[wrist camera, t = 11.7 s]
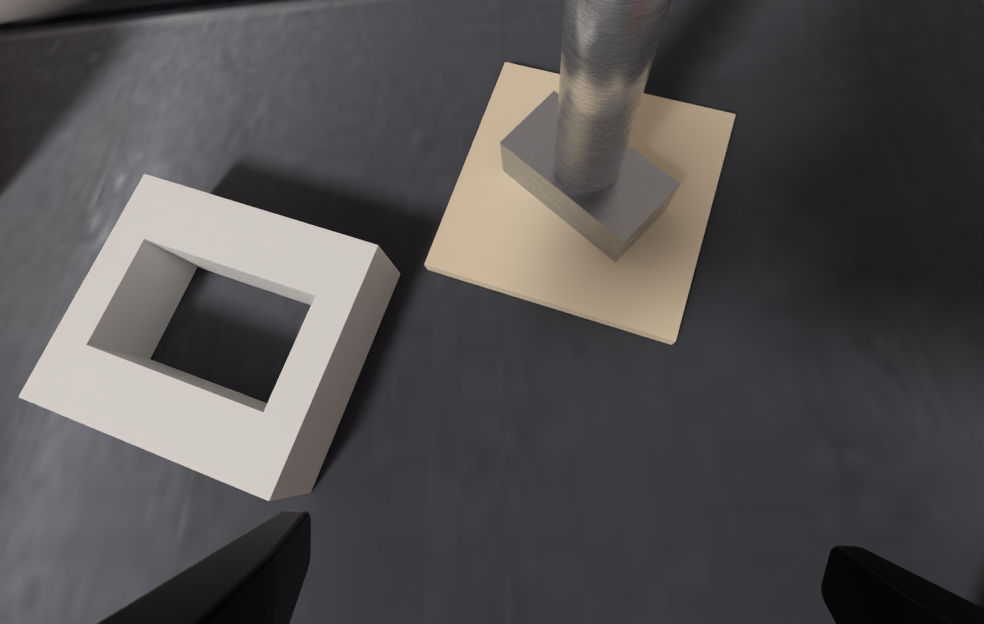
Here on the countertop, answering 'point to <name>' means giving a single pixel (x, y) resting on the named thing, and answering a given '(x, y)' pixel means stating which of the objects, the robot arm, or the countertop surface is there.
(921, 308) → the countertop surface
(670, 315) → the mat
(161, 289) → the white hollow block
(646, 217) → the grey block with rod
